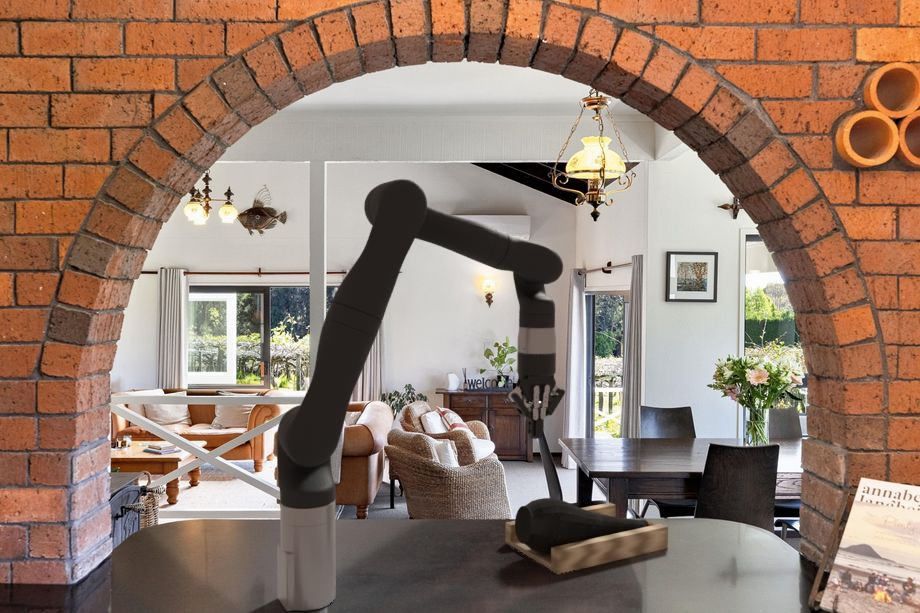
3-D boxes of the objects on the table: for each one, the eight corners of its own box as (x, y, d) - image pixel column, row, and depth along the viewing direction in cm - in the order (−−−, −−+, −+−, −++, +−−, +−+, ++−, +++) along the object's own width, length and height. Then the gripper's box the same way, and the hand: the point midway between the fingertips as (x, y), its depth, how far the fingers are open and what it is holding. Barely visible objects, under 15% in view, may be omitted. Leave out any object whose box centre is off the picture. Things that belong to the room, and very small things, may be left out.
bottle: (541, 537, 135) (673, 541, 146) (528, 486, 143) (655, 493, 153) (517, 562, 142) (645, 564, 153) (507, 512, 149) (630, 518, 160)
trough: (557, 574, 137) (557, 551, 137) (505, 543, 153) (505, 522, 152) (667, 548, 150) (668, 526, 150) (609, 522, 166) (609, 502, 166)
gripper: (519, 353, 137) (518, 445, 138) (575, 350, 143) (574, 438, 144) (497, 349, 144) (496, 437, 144) (552, 347, 150) (551, 431, 151)
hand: (535, 437), depth 144 cm, fingers closed
